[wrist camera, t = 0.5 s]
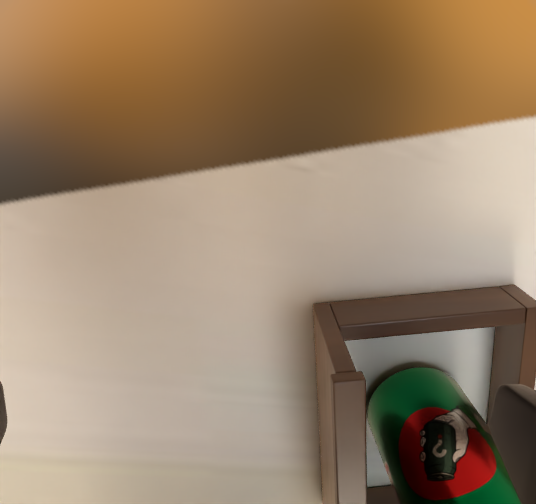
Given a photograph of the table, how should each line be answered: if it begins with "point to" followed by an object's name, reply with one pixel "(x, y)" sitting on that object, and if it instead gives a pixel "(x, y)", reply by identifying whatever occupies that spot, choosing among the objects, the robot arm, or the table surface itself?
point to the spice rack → (395, 324)
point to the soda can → (436, 442)
